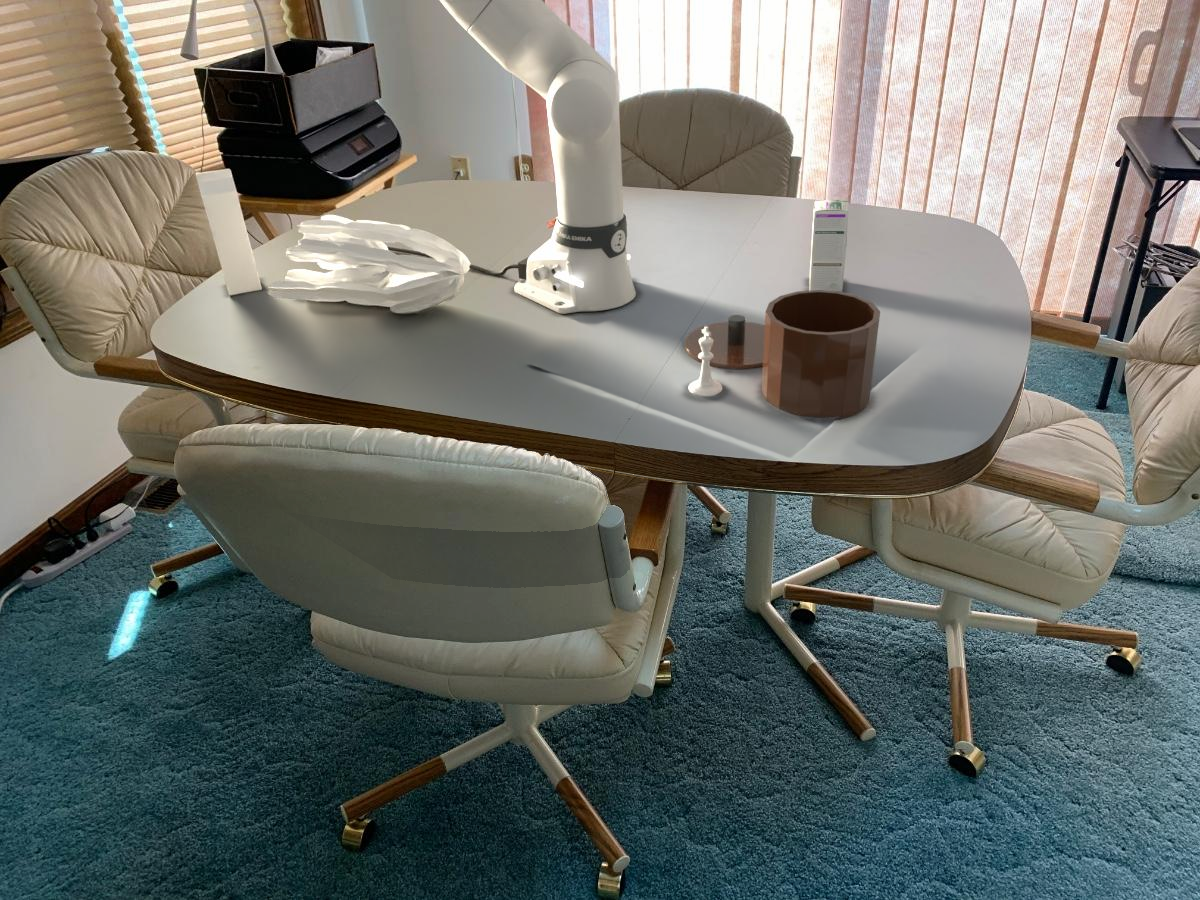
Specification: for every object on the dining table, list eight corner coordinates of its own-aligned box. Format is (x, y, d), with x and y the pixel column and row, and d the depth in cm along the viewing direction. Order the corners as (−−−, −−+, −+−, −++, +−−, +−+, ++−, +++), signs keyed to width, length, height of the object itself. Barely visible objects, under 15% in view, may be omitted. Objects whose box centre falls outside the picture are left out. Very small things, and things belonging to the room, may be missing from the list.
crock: (742, 400, 127) (745, 317, 120) (795, 362, 136) (801, 282, 129) (837, 432, 119) (846, 344, 112) (887, 388, 128) (898, 305, 121)
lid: (664, 355, 140) (663, 323, 137) (721, 320, 150) (722, 290, 147) (752, 382, 131) (753, 349, 129) (807, 343, 141) (809, 312, 138)
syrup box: (842, 293, 157) (850, 210, 150) (807, 291, 158) (814, 209, 151) (842, 280, 162) (849, 199, 154) (808, 279, 163) (814, 199, 155)
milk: (262, 290, 172) (232, 172, 160) (228, 296, 170) (196, 177, 158) (258, 279, 177) (229, 164, 165) (226, 285, 175) (194, 169, 163)
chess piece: (700, 403, 127) (701, 337, 122) (681, 389, 131) (681, 324, 125) (729, 394, 129) (731, 329, 123) (710, 380, 132) (711, 316, 127)
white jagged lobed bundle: (490, 235, 163) (322, 221, 173) (445, 207, 146) (261, 193, 156) (477, 329, 163) (310, 310, 173) (430, 313, 146) (247, 292, 156)
